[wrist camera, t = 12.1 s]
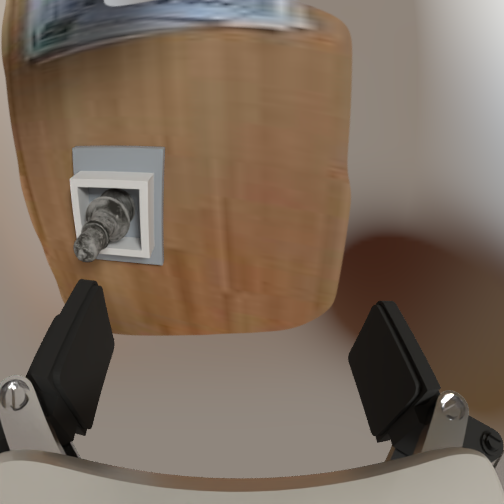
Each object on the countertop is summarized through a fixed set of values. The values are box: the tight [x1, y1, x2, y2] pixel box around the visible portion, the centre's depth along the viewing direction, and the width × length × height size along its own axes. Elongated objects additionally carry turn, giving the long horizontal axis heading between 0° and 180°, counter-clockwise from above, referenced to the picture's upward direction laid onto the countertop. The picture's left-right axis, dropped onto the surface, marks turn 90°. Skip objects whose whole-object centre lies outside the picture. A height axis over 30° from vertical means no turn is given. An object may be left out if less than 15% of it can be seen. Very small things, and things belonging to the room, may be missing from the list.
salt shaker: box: [74, 188, 136, 262], centre depth 31 cm, size 6×6×12 cm
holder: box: [70, 146, 165, 265], centre depth 35 cm, size 16×12×4 cm
